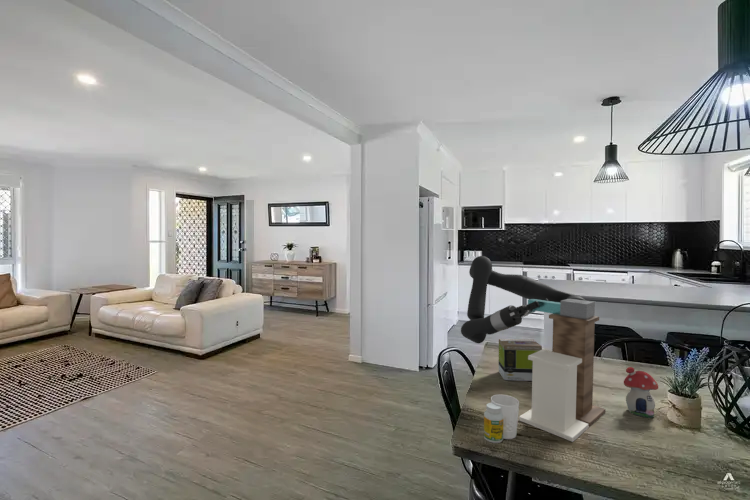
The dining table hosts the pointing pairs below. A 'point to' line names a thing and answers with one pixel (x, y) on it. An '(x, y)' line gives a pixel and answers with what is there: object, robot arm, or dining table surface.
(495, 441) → the supplement bottle
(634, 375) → the decorative ornament
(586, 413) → the tall walnut stand
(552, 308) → the bar
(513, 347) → the tea box
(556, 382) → the low cream stand
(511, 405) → the white cup
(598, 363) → the dining table surface
